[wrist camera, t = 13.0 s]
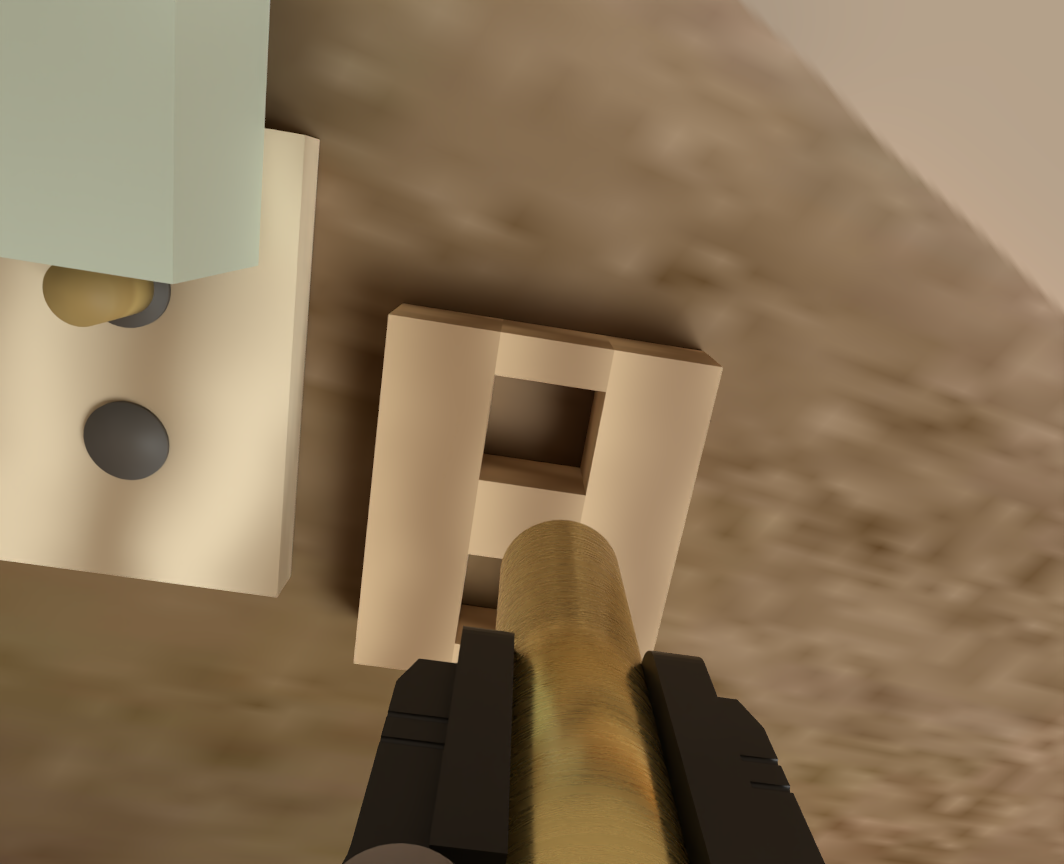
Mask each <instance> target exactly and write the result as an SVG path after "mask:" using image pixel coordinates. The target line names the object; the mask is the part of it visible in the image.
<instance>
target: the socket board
mask: <svg viewBox="0 0 1064 864" xmlns="http://www.w3.org/2000/svg"><path fill="white" fill-rule="evenodd" d="M722 370H723V367H722V366H721V365H720V364H718V363H717V362H716V361H715V360H714V359H712V358H711V357H710V356H709V355H707V354H706V353H705V352H704V351H699V350H693V349H687V348H680V347H674V346H668V345H662V344H655V343H649V342H643V341H637V340H630V339H624V338H618V337H612V336H605V335H599V334H593V333H586V332H580V331H574V330H568V329H561V328H555V327H549V326H543V325H536V324H530V323H524V322H518V321H511V320H505V319H499V318H492V317H486V316H480V315H474V314H467V313H461V312H455V311H449V310H442V309H436V308H430V307H424V306H417V305H411V304H405V303H402V304H401V305H400V306H398V307H397V308H396V309H395V310H393V311H392V312H391V313H389V314H388V324H387V334H386V344H385V354H384V364H383V374H382V384H381V394H380V404H379V414H378V424H377V434H376V444H375V454H374V464H373V474H372V484H371V494H370V504H369V514H368V524H367V534H366V544H365V554H364V564H363V574H362V584H361V594H360V604H359V614H358V624H357V634H356V644H355V654H354V663H355V664H362V665H370V666H378V667H385V668H393V669H400V670H408V669H409V668H410V667H411V666H412V665H413V664H414V663H415V662H416V661H417V660H418V659H419V658H420V659H428V660H436V661H443V662H451V663H457V662H458V656H459V649H460V643H461V636H462V630H463V626H469V627H476V628H484V629H491V630H496V618H497V609H491V608H484V607H477V606H470V605H462V604H461V602H462V595H463V589H464V582H465V575H466V568H467V562H468V555H469V554H472V555H479V556H486V557H493V558H500V559H503V556H504V554H505V552H506V550H507V548H508V546H509V545H510V544H511V542H512V541H513V540H514V539H515V538H516V537H517V536H518V535H519V534H521V533H522V532H523V531H524V530H526V529H528V528H530V527H531V526H534V525H536V524H539V523H542V522H545V521H551V520H570V521H575V522H579V523H582V524H585V525H587V526H589V527H591V528H593V529H594V530H596V531H597V532H599V533H600V534H601V535H602V536H603V537H604V538H605V539H606V540H607V541H608V542H609V544H610V545H611V547H612V548H613V550H614V552H615V554H616V558H617V561H618V565H619V569H620V573H621V577H622V581H623V585H624V589H625V593H626V597H627V601H628V606H629V610H630V614H631V618H632V622H633V626H634V630H635V634H636V638H637V642H638V646H639V651H640V655H641V659H643V657H644V655H645V653H646V652H647V651H654V646H655V642H656V638H657V634H658V630H659V626H660V622H661V618H662V614H663V610H664V606H665V602H666V598H667V594H668V589H669V585H670V581H671V577H672V573H673V569H674V565H675V561H676V557H677V553H678V549H679V545H680V541H681V537H682V532H683V528H684V524H685V520H686V516H687V512H688V508H689V504H690V500H691V496H692V492H693V488H694V484H695V480H696V475H697V471H698V467H699V463H700V459H701V455H702V451H703V447H704V443H705V439H706V435H707V431H708V427H709V423H710V418H711V414H712V410H713V406H714V402H715V398H716V394H717V390H718V386H719V382H720V378H721V374H722ZM495 375H498V376H505V377H511V378H518V379H524V380H531V381H537V382H544V383H550V384H556V385H563V386H569V387H576V388H582V389H589V390H595V394H594V399H593V404H592V409H591V414H590V420H589V425H588V430H587V435H586V440H585V445H584V451H583V456H582V461H581V466H580V468H578V467H571V466H564V465H557V464H551V463H544V462H537V461H531V460H524V459H517V458H510V457H504V456H497V455H490V454H484V447H485V440H486V434H487V427H488V420H489V413H490V407H491V400H492V393H493V387H494V380H495Z"/></svg>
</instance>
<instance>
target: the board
mask: <svg viewBox="0 0 1064 864" xmlns="http://www.w3.org/2000/svg"><path fill="white" fill-rule="evenodd" d="M319 143H320V140H319V139H316V138H313V137H310V136H307V135H302V134H296V133H290V132H284V131H279V130H273V129H267V128H264V150H263V173H262V195H261V217H260V240H259V262H258V266H254V267H249V268H245V269H240V270H236V271H231V272H227V273H222V274H217V275H213V276H208V277H204V278H199V279H195V280H190V281H185V282H181V283H176V284H168V283H161V282H155V281H149V280H142V279H136V278H130V277H123V276H117V275H111V274H104V273H98V272H92V271H85V270H79V269H73V268H66V267H60V266H54V265H47V264H41V263H35V262H29V261H22V260H16V259H10V258H3V257H0V560H5V561H13V562H20V563H27V564H35V565H42V566H49V567H57V568H64V569H71V570H79V571H86V572H93V573H101V574H108V575H116V576H123V577H130V578H138V579H145V580H152V581H160V582H167V583H174V584H182V585H189V586H196V587H204V588H211V589H218V590H226V591H233V592H240V593H248V594H255V595H262V596H270V597H278V595H279V594H280V592H281V591H282V589H283V587H284V586H285V584H286V583H287V581H288V580H289V578H290V576H291V565H292V550H293V535H294V520H295V504H296V489H297V474H298V459H299V444H300V429H301V414H302V399H303V384H304V369H305V354H306V339H307V324H308V309H309V294H310V279H311V264H312V249H313V233H314V218H315V203H316V188H317V173H318V158H319Z"/></svg>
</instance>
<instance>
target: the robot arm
mask: <svg viewBox="0 0 1064 864" xmlns="http://www.w3.org/2000/svg"><path fill="white" fill-rule="evenodd" d="M514 640H515V634H514V632H507V631H499V630H491V629H484V628H476V627H469V626H463V630H462V636H461V643H460V649H459V656H458V662H457V663H451V662H443V661H436V660H428V659H420V658H419V659H418V660H417V661H416V662H415V663H414V664H413V665H412V666H411V667H410V668H409V669H408V670H407V671H406V672H405V673H404V674H403V675H402V676H401V677H400V678H399V679H398V680H397V681H396V685H395V688H394V692H393V695H392V699H391V703H390V706H389V710H388V715H387V717H386V721H385V724H384V728H383V731H382V735H381V741H380V742H379V746H378V749H377V753H376V757H375V760H374V764H373V767H372V771H371V775H370V778H369V782H368V785H367V789H366V793H365V796H364V800H363V803H362V807H361V811H360V814H359V818H358V821H357V825H356V829H355V832H354V836H353V839H352V843H351V846H350V848H349V851H348V854H347V856H346V858H345V859H344V861H343V863H342V864H506V860H507V855H508V828H509V797H510V766H511V734H512V703H513V672H514ZM641 665H642V669H643V673H644V677H645V681H646V686H647V690H648V694H649V698H650V702H651V706H652V710H653V714H654V719H655V723H656V727H657V731H658V735H659V739H660V743H661V747H662V752H663V756H664V760H665V764H666V768H667V772H668V776H669V780H670V785H671V789H672V793H673V797H674V801H675V805H676V809H677V813H678V818H679V822H680V826H681V830H682V834H683V838H684V842H685V846H686V851H687V855H688V859H689V863H690V864H825V863H824V861H823V858H822V856H821V854H820V852H819V849H818V847H817V845H816V843H815V841H814V838H813V836H812V834H811V832H810V830H809V827H808V825H807V823H806V821H805V818H804V816H803V814H802V812H801V810H800V807H799V805H798V803H797V801H796V798H795V796H794V794H793V793H790V785H789V783H788V781H787V778H786V776H785V774H784V772H783V770H782V767H781V766H778V758H777V756H776V754H775V752H774V750H773V747H772V745H771V743H770V741H769V738H768V736H767V734H766V732H765V730H764V728H763V727H762V726H761V725H760V723H759V722H758V721H757V720H756V719H755V718H754V717H753V716H752V715H751V714H750V713H749V712H748V711H747V710H746V709H745V708H744V706H743V705H742V704H741V703H740V702H739V701H738V700H737V699H729V698H721V697H717V695H716V692H715V689H714V687H713V684H712V682H711V679H710V676H709V674H708V671H707V669H706V666H705V663H704V661H703V660H702V659H701V658H700V657H695V656H688V655H680V654H672V653H665V652H657V651H647V652H646V653H645V655H644V657H643V659H642V663H641Z"/></svg>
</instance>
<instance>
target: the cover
mask: <svg viewBox="0 0 1064 864" xmlns="http://www.w3.org/2000/svg"><path fill="white" fill-rule="evenodd" d="M269 16H270V0H0V257H3V258H10V259H16V260H22V261H29V262H35V263H41V264H47V265H54V266H60V267H66V268H73V269H79V270H85V271H92V272H98V273H104V274H111V275H117V276H123V277H130V278H136V279H142V280H149V281H155V282H161V283H168V284H176V283H181V282H185V281H190V280H195V279H199V278H204V277H208V276H213V275H217V274H222V273H227V272H231V271H236V270H240V269H245V268H249V267H254V266H258V262H259V240H260V217H261V195H262V173H263V150H264V128H265V106H266V83H267V61H268V38H269Z"/></svg>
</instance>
